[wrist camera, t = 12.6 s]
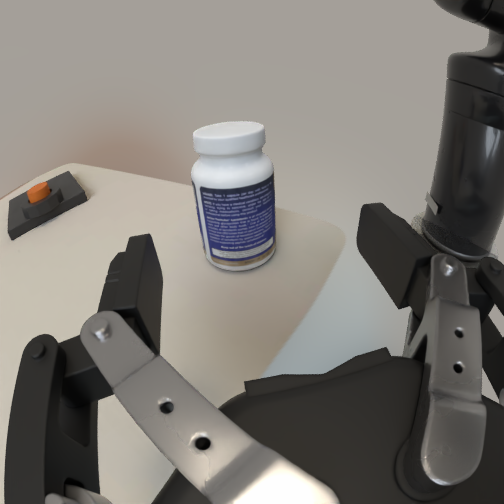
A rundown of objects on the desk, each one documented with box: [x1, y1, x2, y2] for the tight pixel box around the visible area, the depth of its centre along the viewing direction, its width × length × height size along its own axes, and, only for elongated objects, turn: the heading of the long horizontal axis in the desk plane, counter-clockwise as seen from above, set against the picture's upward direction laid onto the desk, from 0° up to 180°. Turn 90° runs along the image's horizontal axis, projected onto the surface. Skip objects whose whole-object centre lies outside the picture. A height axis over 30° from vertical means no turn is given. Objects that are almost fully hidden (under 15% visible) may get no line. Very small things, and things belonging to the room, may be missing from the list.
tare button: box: [27, 182, 51, 203], centre depth 31 cm, size 3×3×2 cm
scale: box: [8, 171, 87, 240], centre depth 35 cm, size 12×15×3 cm
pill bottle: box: [191, 121, 276, 271], centre depth 21 cm, size 6×6×10 cm
